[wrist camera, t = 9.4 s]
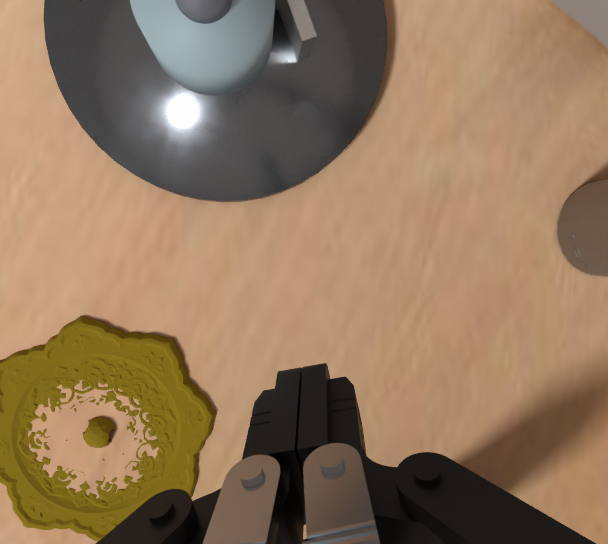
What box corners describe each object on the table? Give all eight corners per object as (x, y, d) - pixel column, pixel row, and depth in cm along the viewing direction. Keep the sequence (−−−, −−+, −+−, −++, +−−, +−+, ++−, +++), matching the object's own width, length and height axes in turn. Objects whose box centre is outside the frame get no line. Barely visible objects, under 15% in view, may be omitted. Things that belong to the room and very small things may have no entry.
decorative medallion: (-42, 510, 39) (-54, 520, 38) (15, 295, 39) (6, 298, 37) (178, 554, 42) (175, 565, 40) (236, 353, 41) (235, 357, 39)
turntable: (305, 252, 41) (313, 254, 35) (-2, 116, 37) (-46, 94, 32) (431, -34, 40) (459, -77, 35) (132, -199, 37) (111, -277, 31)
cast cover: (228, -53, 37) (221, -128, 29) (295, 55, 38) (304, 9, 30) (124, 11, 36) (90, -49, 29) (195, 118, 37) (180, 87, 30)
